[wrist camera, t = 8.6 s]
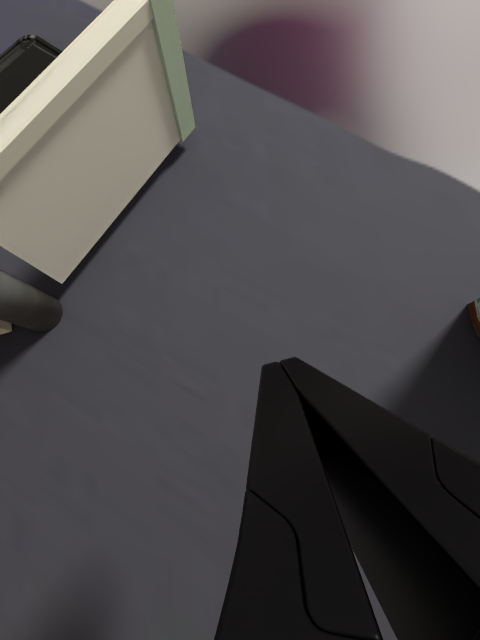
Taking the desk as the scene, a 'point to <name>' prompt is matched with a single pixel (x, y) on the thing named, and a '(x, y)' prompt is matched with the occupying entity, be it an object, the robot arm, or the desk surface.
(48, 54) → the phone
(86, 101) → the bar
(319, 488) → the robot arm
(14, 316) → the garden fence
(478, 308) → the food container
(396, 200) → the desk surface
